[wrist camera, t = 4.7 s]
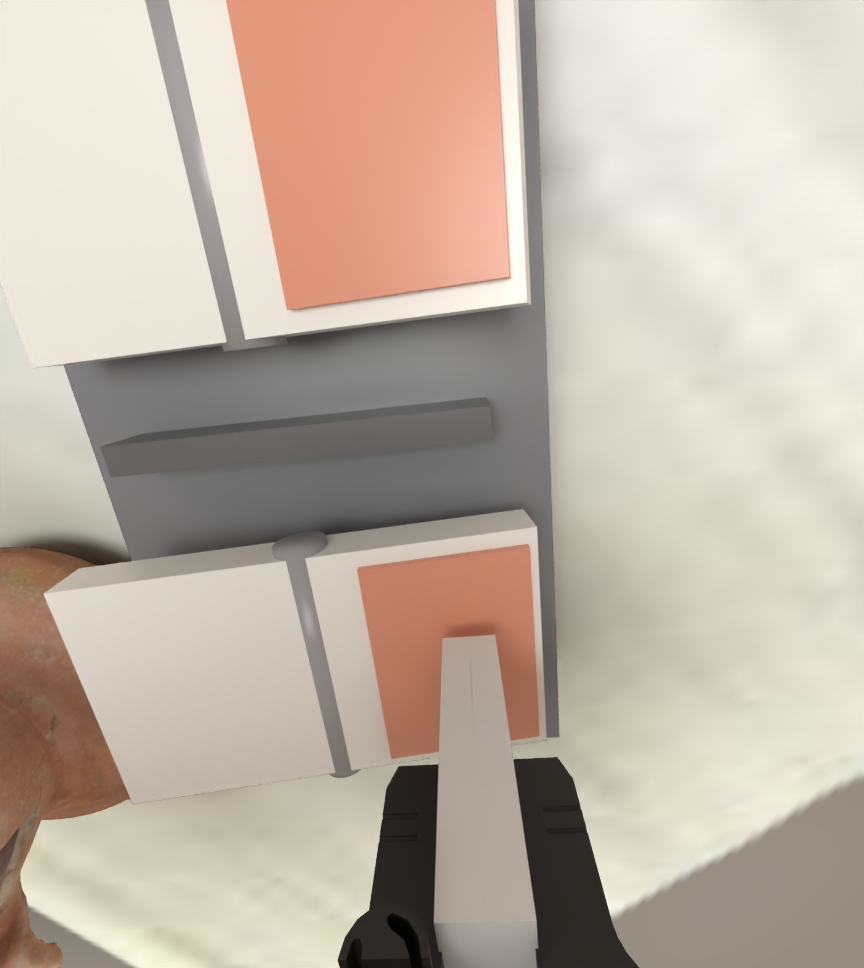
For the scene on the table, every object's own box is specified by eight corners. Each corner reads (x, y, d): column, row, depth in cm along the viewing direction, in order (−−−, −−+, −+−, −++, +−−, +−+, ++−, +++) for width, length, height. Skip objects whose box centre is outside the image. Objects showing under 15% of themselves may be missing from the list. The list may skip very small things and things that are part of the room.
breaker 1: (84, 369, 15) (24, 375, 13) (-24, 44, 12) (-118, 0, 10) (531, 314, 11) (526, 312, 9) (510, -184, 8) (498, -314, 6)
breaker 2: (157, 767, 17) (130, 815, 15) (77, 561, 14) (33, 592, 12) (533, 710, 17) (549, 750, 15) (522, 502, 15) (539, 523, 13)
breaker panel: (247, 674, 25) (172, 795, 19) (68, 51, 17) (-187, -136, 10) (538, 657, 24) (570, 781, 17) (505, -28, 15) (543, -304, 9)
